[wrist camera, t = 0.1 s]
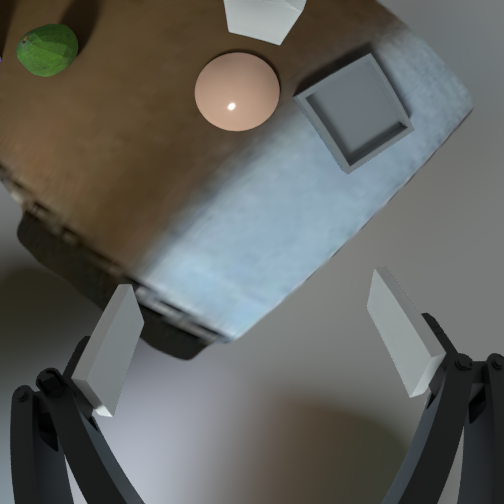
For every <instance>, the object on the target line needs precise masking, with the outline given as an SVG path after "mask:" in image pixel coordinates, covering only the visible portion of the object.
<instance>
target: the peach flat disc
mask: <svg viewBox="0 0 504 504" xmlns="http://www.w3.org/2000/svg"><path fill="white" fill-rule="evenodd" d="M279 93H280V89H279V83H278V79H277V77H276V75H275V73H274V71H273V70H272V68H271V67H270V66H269V65H268V64H267V63H266V62H264V61H263V60H262V59H260V58H258V57H256V56H253V55H250V54H246V53H230V54H225V55H222V56H220V57H218V58H216V59H214V60H212V61H211V62H210V63H209V64H208V65H206V66H205V68H204V69H203V70H202V71H201V73H200V75H199V77H198V79H197V82H196V86H195V99H196V103H197V106H198V108H199V110H200V112H201V113H202V115H203V116H204V117H205V118H206V119H207V120H208V121H209V122H210V123H212V124H213V125H215V126H217V127H219V128H222V129H225V130H230V131H243V130H248V129H251V128H254V127H256V126H258V125H260V124H262V123H263V122H264V121H266V120H267V119H268V118H269V117H270V115H271V114H272V113H273V111H274V110H275V108H276V106H277V103H278V100H279Z"/></svg>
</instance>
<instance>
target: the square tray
mask: <svg viewBox="0 0 504 504" xmlns="http://www.w3.org/2000/svg"><path fill="white" fill-rule="evenodd" d="M293 99H294V100H295V101H296V103H297V104H298V105H299V107H300V108H301V110H302V111H303V112H304V114H305V115H306V117H307V118H308V119H309V121H310V122H311V124H312V125H313V127H314V128H315V129H316V131H317V132H318V134H319V135H320V137H321V138H322V140H323V141H324V143H325V144H326V146H327V148H328V149H329V151H330V152H331V154H332V155H333V157H334V158H335V160H336V162H337V163H338V165H339V166H340V168H341V170H342V171H344V172H345V173H347V174H349V173H351V172H352V171H354V170H355V169H357V168H358V167H360V166H361V165H363V164H364V163H366V162H367V161H369V160H370V159H372V158H373V157H375V156H376V155H378V154H379V153H381V152H382V151H384V150H385V149H387V148H388V147H390V146H391V145H393V144H394V143H396V142H397V141H399V140H400V139H402V138H403V137H405V136H406V135H408V134H409V133H411V132H412V131H414V128H413V126H412V124H411V122H410V120H409V118H408V116H407V114H406V112H405V110H404V108H403V106H402V104H401V103H400V101H399V99H398V97H397V95H396V94H395V92H394V90H393V88H392V87H391V85H390V83H389V81H388V80H387V78H386V76H385V75H384V73H383V72H382V70H381V68H380V67H379V65H378V64H377V62H376V60H375V59H374V57H373V56H372V54H371V53H369V54H366V55H363V56H361V57H359V58H358V59H356V60H354V61H352V62H350V63H348V64H347V65H345V66H343V67H341V68H340V69H338V70H336V71H334V72H333V73H331V74H329V75H328V76H326V77H324V78H322V79H321V80H319V81H318V82H316V83H314V84H313V85H311V86H309V87H308V88H306V89H305V90H303V91H301V92H300V93H298V94H297V95H295V96H294V97H293Z"/></svg>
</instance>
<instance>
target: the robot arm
mask: <svg viewBox="0 0 504 504" xmlns="http://www.w3.org/2000/svg"><path fill="white" fill-rule="evenodd" d="M367 309H368V311H369V313H370V315H371V317H372V319H373V321H374V323H375V325H376V327H377V329H378V331H379V333H380V335H381V337H382V339H383V341H384V343H385V345H386V347H387V349H388V351H389V353H390V355H391V357H392V359H393V361H394V363H395V366H396V368H397V370H398V372H399V374H400V376H401V379H402V381H403V383H404V385H405V387H406V390H407V392H408V394H409V396H410V397H413V396H417V395H420V394H423V393H424V392H425V390H426V389H427V387H428V386H429V387H430V390H431V393H430V394H429V396H428V397H427V399H426V401H425V402H424V404H423V405H425V404H426V406H425V409H424V412H423V414H422V417H421V420H420V422H419V425H418V428H417V430H416V433H415V435H414V438H413V440H412V442H411V445H410V447H409V449H408V452H407V454H406V456H405V458H404V461H403V463H402V465H401V467H400V469H399V471H398V473H397V475H396V477H395V479H394V481H393V483H392V485H391V486H390V488H389V490H388V492H387V494H386V495H385V497H384V499H383V501H382V502H381V504H437V503H438V500H439V498H440V495H441V493H442V491H443V488H444V486H445V483H446V481H447V478H448V475H449V473H450V470H451V467H452V464H453V461H454V458H455V455H456V451H457V448H458V445H459V441H460V437H461V434H462V430H463V426H464V446H463V463H462V472H461V481H460V489H459V496H458V502H457V504H504V357H503V356H502V355H500V354H497V353H493V354H491V355H490V356H489V357H488V358H487V360H486V361H472V359H471V358H469V356H467V355H465V354H461V353H458V352H457V351H456V349H455V347H454V346H453V344H452V343H451V341H450V340H449V338H448V337H447V335H446V334H445V333H444V331H443V329H442V328H441V327H440V325H439V324H438V322H437V321H436V320H435V318H434V317H432V316H431V315H429V314H428V313H423V314H420V312H419V311H418V309H417V308H416V306H415V305H414V303H413V302H412V301H411V299H410V298H409V296H408V295H407V294H406V292H405V291H404V289H403V288H402V287H401V285H400V284H399V283H398V281H397V280H396V279H395V277H394V276H393V275H392V273H391V272H390V271H389V270H388V268H387V267H381V268H374V274H373V279H372V284H371V290H370V295H369V299H368V304H367ZM143 325H144V321H143V318H142V315H141V312H140V309H139V306H138V304H137V301H136V298H135V295H134V291H133V288H132V285H131V284H125V285H119V286H118V287H117V289H116V291H115V293H114V294H113V296H112V298H111V300H110V302H109V303H108V305H107V307H106V309H105V311H104V313H103V315H102V316H101V319H100V320H99V322H98V324H97V326H96V328H95V330H94V332H93V334H92V336H85V337H84V338H83V339H82V340H81V341H80V342H79V343H78V345H77V347H76V349H75V352H74V353H73V354H72V357H71V358H70V360H69V362H68V365H67V367H66V369H65V371H64V373H63V375H61V374H60V372H59V371H58V370H57V369H55V368H47V369H45V370H43V371H42V372H40V374H39V375H38V376H37V379H36V386H37V387H38V388H39V389H40V391H38V392H34V391H33V390H32V389H31V388H30V387H29V386H27V385H22V386H20V387H18V388H17V389H16V390H15V392H14V393H13V397H12V406H11V427H10V449H11V472H12V484H13V492H14V500H15V504H74V502H73V497H72V493H71V489H70V484H69V479H68V474H67V468H66V462H65V456H66V459H67V462H68V464H69V466H70V469H71V471H72V473H73V475H74V478H75V480H76V482H77V484H78V486H79V488H80V490H81V492H82V494H83V496H84V498H85V500H86V501H87V504H145V503H144V502H143V500H142V499H141V497H140V496H139V495H138V493H137V492H136V490H135V489H134V487H133V486H132V484H131V483H130V481H129V480H128V478H127V477H126V475H125V473H124V472H123V470H122V468H121V467H120V465H119V463H118V462H117V460H116V458H115V457H114V455H113V453H112V452H111V450H110V448H109V446H108V444H107V442H106V440H105V438H104V436H103V435H102V433H101V431H100V429H99V427H98V424H97V423H96V420H95V418H94V417H93V416H92V411H93V409H95V410H96V412H97V413H98V414H99V415H103V416H109V417H113V416H114V412H115V409H116V406H117V402H118V399H119V396H120V393H121V389H122V386H123V383H124V380H125V376H126V374H127V371H128V367H129V365H130V362H131V359H132V356H133V353H134V350H135V347H136V344H137V341H138V338H139V336H140V333H141V330H142V327H143ZM64 454H65V456H64Z"/></svg>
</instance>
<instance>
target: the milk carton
mask: <svg viewBox="0 0 504 504" xmlns="http://www.w3.org/2000/svg"><path fill="white" fill-rule="evenodd" d="M305 3H306V0H224V4H225V11H226V17H227V23H228V29H229V32H232V33H236V34H240V35H245V36H249V37H253V38H256V39H260V40H264V41H267V42H271V43H274V44H277V45H281V43H282V41H283V40H284V38H285V37H286V35H287V34H288V32H289V30H290V29H291V27H292V26H293V24H294V23H295V21H296V20H297V18H298V17H299V15H300V14H301V12H302V11H303V8H304V6H305Z"/></svg>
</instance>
